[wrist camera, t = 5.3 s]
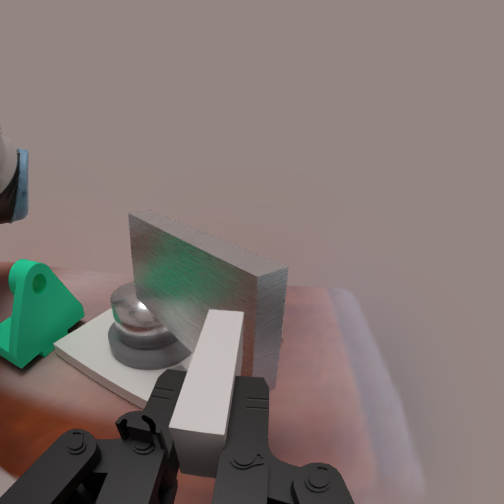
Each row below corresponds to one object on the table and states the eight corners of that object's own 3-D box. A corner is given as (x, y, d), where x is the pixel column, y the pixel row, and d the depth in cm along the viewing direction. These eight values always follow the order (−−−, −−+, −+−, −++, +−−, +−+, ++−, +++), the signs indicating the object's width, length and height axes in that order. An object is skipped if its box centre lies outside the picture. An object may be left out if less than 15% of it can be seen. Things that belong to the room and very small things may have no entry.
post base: (56, 354, 27) (49, 332, 26) (146, 297, 42) (143, 278, 41) (213, 442, 20) (211, 419, 19) (282, 337, 34) (285, 315, 33)
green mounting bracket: (48, 310, 36) (33, 240, 32) (86, 323, 34) (71, 246, 31) (-10, 354, 25) (-37, 274, 21) (25, 376, 23) (-8, 287, 20)
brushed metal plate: (107, 321, 29) (91, 210, 25) (164, 304, 34) (158, 200, 30) (218, 456, 16) (210, 292, 12) (295, 406, 20) (319, 255, 16)
